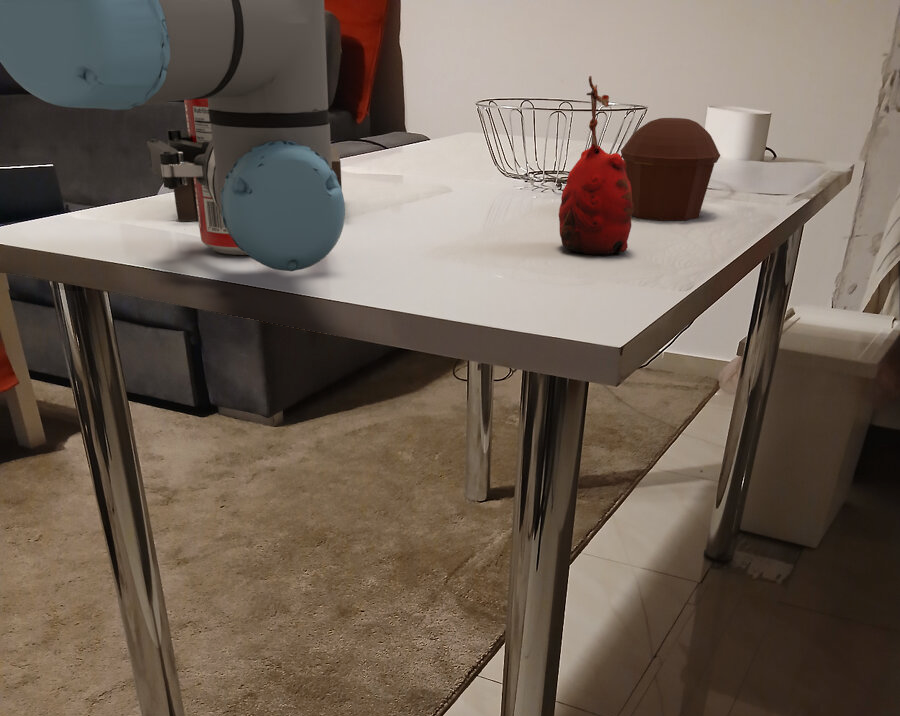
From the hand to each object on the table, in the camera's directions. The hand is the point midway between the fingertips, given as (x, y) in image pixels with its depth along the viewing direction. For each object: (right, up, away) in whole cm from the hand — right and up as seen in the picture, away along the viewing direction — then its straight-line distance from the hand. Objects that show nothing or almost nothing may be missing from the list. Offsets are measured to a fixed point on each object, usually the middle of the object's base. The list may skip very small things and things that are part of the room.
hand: (227, 145), depth 86 cm
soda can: (+1, -10, +1) cm, 10 cm away
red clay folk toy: (+35, -9, +3) cm, 37 cm away
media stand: (0, +2, +19) cm, 19 cm away
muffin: (+47, +2, +21) cm, 51 cm away
